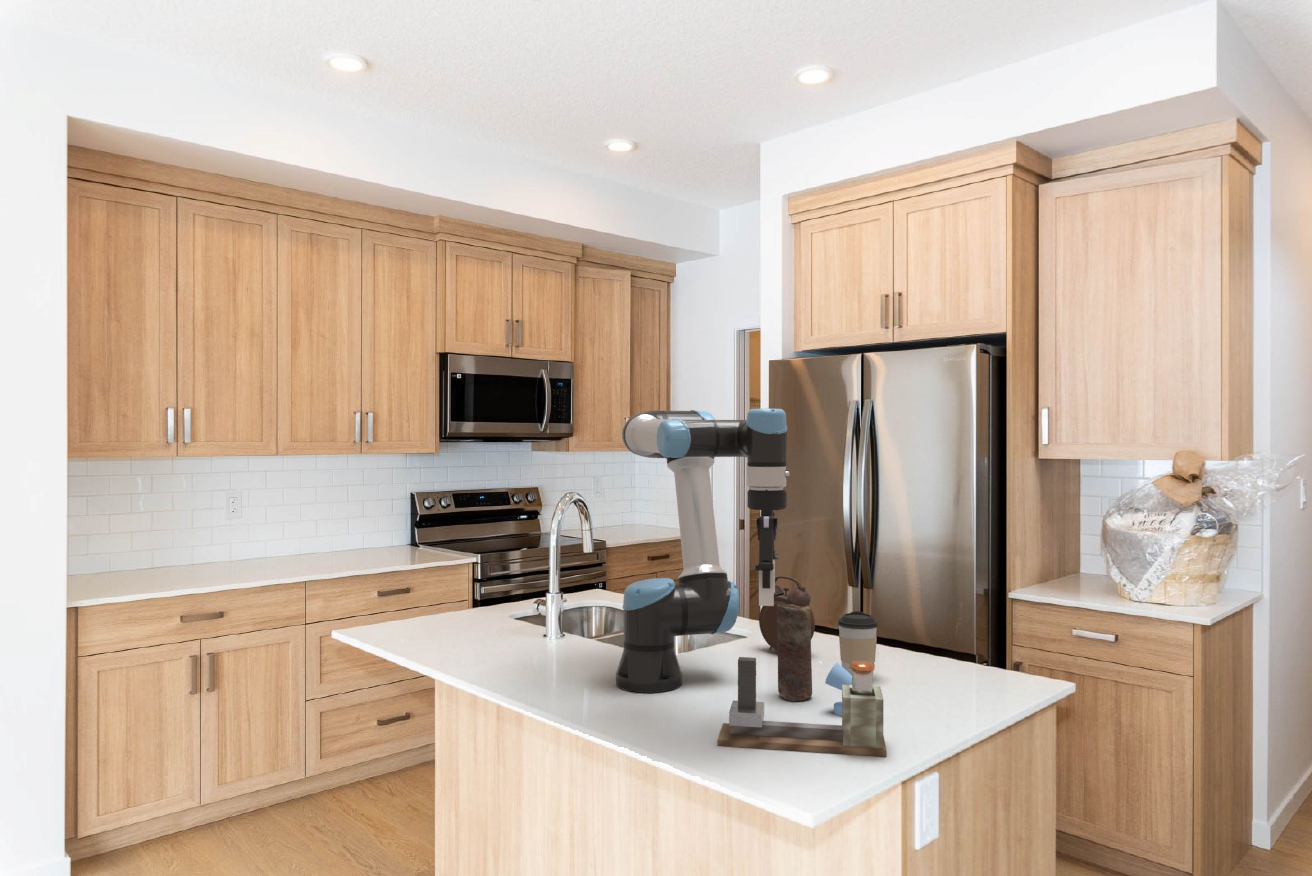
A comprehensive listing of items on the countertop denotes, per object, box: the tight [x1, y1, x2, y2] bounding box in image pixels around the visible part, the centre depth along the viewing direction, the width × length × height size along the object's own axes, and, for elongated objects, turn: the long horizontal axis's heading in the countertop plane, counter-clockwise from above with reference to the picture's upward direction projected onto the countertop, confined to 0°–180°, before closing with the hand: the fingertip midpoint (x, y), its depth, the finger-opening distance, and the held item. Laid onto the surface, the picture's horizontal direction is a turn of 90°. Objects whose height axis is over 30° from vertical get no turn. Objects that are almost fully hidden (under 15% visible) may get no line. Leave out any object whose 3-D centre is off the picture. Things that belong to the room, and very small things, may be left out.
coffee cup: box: [837, 610, 878, 681], centre depth 204 cm, size 9×9×15 cm
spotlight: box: [824, 662, 852, 717], centre depth 179 cm, size 5×10×7 cm
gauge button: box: [850, 661, 876, 696], centre depth 160 cm, size 4×4×8 cm
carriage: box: [728, 656, 765, 727], centre depth 164 cm, size 6×7×12 cm
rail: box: [717, 685, 888, 758], centre depth 162 cm, size 30×9×10 cm, turn 79°
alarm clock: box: [758, 575, 816, 652], centre depth 227 cm, size 15×7×20 cm, turn 44°
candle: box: [777, 604, 813, 702], centre depth 190 cm, size 8×7×20 cm
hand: (767, 598), depth 169 cm, fingers open, 13 cm apart
